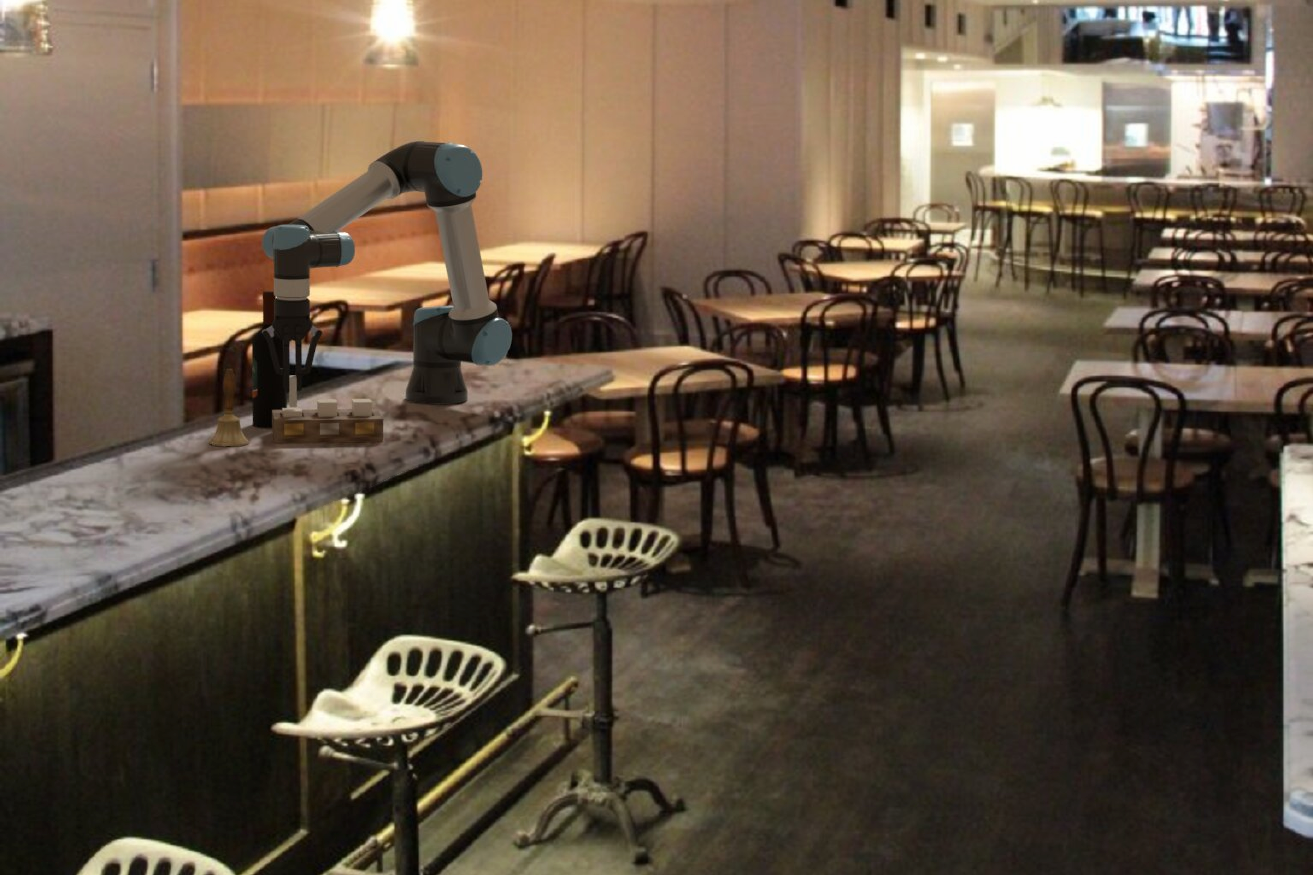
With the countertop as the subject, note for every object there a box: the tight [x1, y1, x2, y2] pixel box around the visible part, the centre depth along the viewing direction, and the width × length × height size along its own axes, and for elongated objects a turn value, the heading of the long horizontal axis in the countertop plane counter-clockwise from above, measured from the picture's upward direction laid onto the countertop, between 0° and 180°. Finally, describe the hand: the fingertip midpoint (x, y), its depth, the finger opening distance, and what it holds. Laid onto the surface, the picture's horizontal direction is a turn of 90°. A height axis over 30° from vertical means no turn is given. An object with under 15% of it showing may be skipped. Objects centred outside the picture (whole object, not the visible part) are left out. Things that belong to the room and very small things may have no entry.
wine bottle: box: [251, 290, 288, 429], centre depth 402 cm, size 8×8×30 cm
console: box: [271, 408, 384, 444], centre depth 394 cm, size 23×12×5 cm, turn 105°
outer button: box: [282, 407, 303, 417], centre depth 392 cm, size 4×4×5 cm
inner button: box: [351, 398, 373, 416], centre depth 395 cm, size 4×4×5 cm
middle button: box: [316, 398, 338, 417], centre depth 393 cm, size 4×4×5 cm
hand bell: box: [208, 368, 250, 447], centre depth 383 cm, size 8×8×16 cm
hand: (292, 405), depth 391 cm, fingers closed
